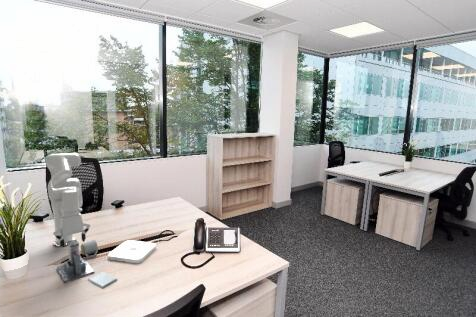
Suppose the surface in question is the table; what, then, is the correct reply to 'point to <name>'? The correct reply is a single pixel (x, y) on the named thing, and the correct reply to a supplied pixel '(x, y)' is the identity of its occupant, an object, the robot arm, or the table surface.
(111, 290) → the table surface
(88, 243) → the ceramic mug
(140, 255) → the computer
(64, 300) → the table surface
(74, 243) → the column
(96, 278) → the hard drive
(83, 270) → the stand
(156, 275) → the table surface
